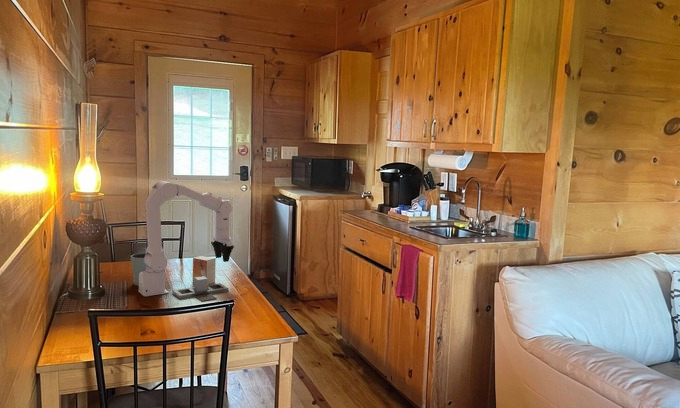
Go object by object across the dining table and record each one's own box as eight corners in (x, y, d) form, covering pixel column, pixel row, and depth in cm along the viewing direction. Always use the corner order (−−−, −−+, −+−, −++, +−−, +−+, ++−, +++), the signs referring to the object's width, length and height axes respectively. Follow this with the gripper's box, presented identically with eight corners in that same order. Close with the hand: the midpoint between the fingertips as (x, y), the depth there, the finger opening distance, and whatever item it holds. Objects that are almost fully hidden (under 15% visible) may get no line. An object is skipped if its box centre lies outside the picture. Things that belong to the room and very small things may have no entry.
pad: (201, 301, 189) (201, 300, 189) (195, 297, 194) (195, 296, 194) (216, 299, 193) (216, 298, 193) (210, 295, 197) (210, 294, 197)
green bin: (162, 282, 212) (162, 254, 211) (143, 287, 203) (143, 258, 202) (144, 278, 216) (144, 251, 215) (125, 284, 207) (125, 255, 206)
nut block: (197, 294, 197) (198, 279, 197) (194, 292, 200) (194, 277, 200) (207, 293, 200) (207, 278, 199) (203, 290, 203) (203, 276, 202)
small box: (192, 281, 215) (192, 257, 213) (201, 278, 220) (201, 255, 218) (206, 284, 211) (206, 260, 210) (215, 281, 216) (215, 258, 215)
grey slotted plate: (179, 299, 191) (179, 295, 191) (172, 293, 197) (172, 290, 197) (228, 291, 203) (228, 288, 203) (220, 286, 209) (220, 283, 209)
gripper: (238, 230, 209) (238, 262, 210) (224, 224, 220) (223, 255, 222) (223, 231, 205) (222, 264, 206) (208, 226, 216) (208, 256, 218)
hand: (222, 259), depth 214 cm, fingers open, 7 cm apart
